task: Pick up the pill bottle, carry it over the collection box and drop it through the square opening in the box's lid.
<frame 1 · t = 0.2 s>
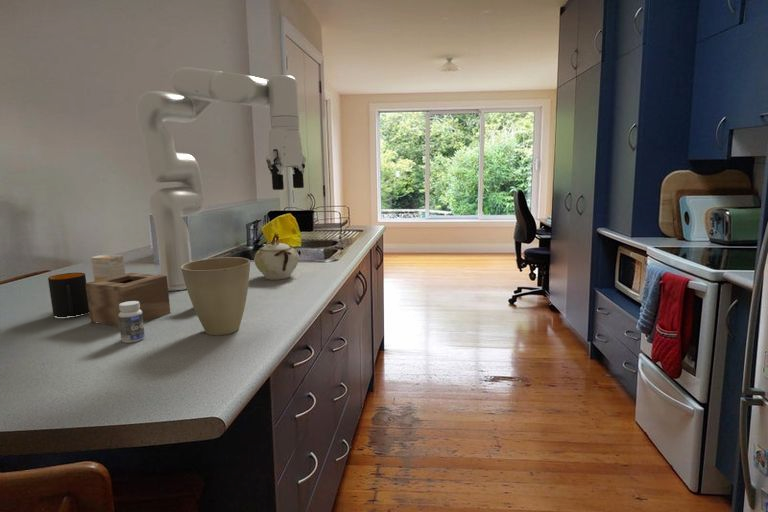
hand: (288, 188, 137), 31 cm above the counter, tool pointing down, fingers open, 9 cm apart
collection box: (131, 317, 128), on the counter
supplement box 2: (207, 306, 137), on the counter
supplement box: (112, 300, 146), on the counter
sugar bowl: (278, 277, 171), on the counter
pill bottle: (133, 340, 111), on the counter
plant pot: (222, 331, 116), on the counter
mug: (72, 316, 131), on the counter
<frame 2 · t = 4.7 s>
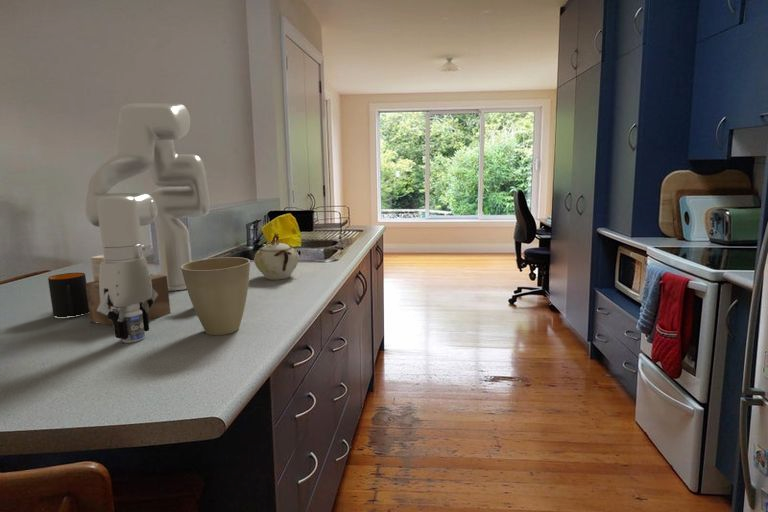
hand: (132, 333, 111), 1 cm above the counter, tool pointing down, fingers closed on pill bottle, 4 cm apart
pill bottle: (133, 340, 111), on the counter, touching gripper
everything else where it was.
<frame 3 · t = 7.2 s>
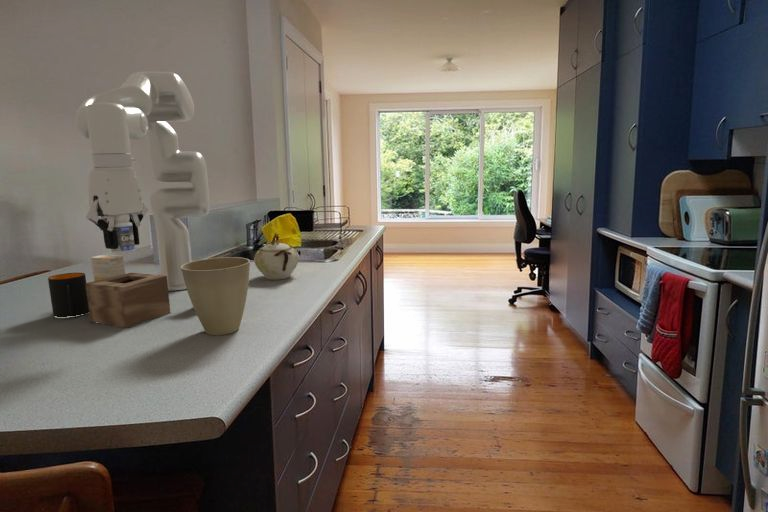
hand: (122, 245, 111), 21 cm above the counter, tool pointing down, fingers closed on pill bottle, 4 cm apart
pill bottle: (123, 252, 111), point 19 cm above the counter, touching gripper
everything else where it was.
when the fingers open (13 cm above the counter, at t = 9.9 s): pill bottle drops 12 cm, resting in collection box.
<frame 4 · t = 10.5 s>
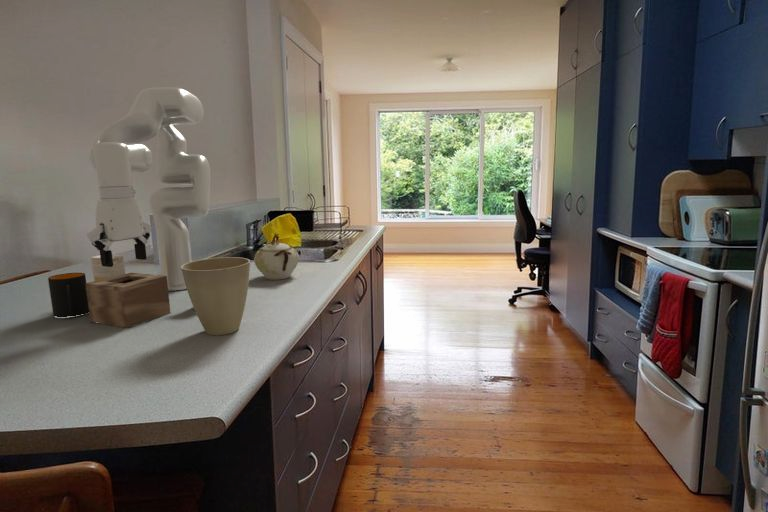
hand: (125, 262, 125), 14 cm above the counter, tool pointing down, fingers open, 9 cm apart
pill bottle: (131, 318, 128), resting in collection box
everything else where it was.
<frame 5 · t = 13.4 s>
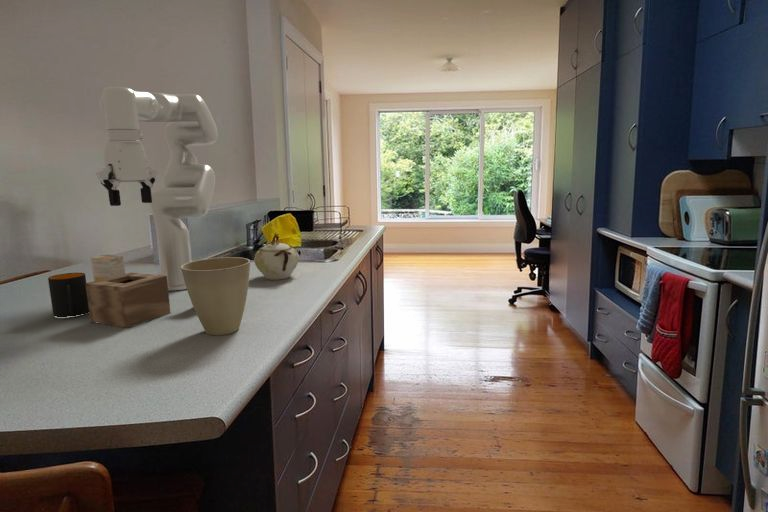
hand: (131, 204, 132), 28 cm above the counter, tool pointing down, fingers open, 9 cm apart
nothing on the counter moved.
at the end: pill bottle inside the target area on the collection box (0.1 cm from its centre), point 0.0 cm above the collection box's base; the gripper is holding nothing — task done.
